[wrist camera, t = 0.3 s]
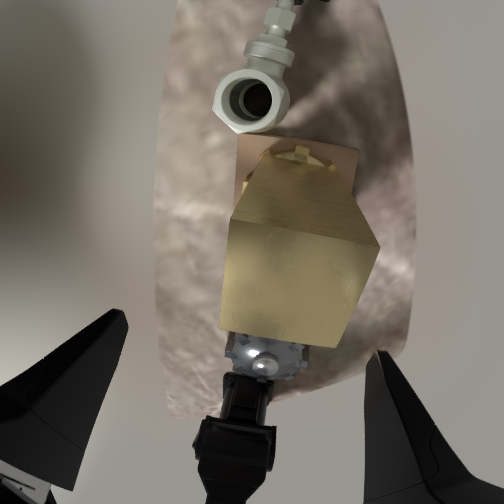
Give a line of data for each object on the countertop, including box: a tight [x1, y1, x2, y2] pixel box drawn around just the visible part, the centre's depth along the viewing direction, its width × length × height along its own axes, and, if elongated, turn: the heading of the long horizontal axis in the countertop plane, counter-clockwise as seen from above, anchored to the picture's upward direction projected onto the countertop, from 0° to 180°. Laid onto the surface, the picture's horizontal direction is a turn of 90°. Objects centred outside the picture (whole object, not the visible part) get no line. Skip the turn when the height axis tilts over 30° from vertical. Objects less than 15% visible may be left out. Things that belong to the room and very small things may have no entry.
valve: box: [212, 0, 330, 134], centre depth 14 cm, size 7×7×12 cm
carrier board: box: [227, 132, 360, 346], centre depth 25 cm, size 24×9×1 cm, turn 175°
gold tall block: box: [219, 143, 380, 348], centre depth 15 cm, size 7×7×12 cm
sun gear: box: [225, 331, 309, 383], centre depth 27 cm, size 8×8×4 cm
